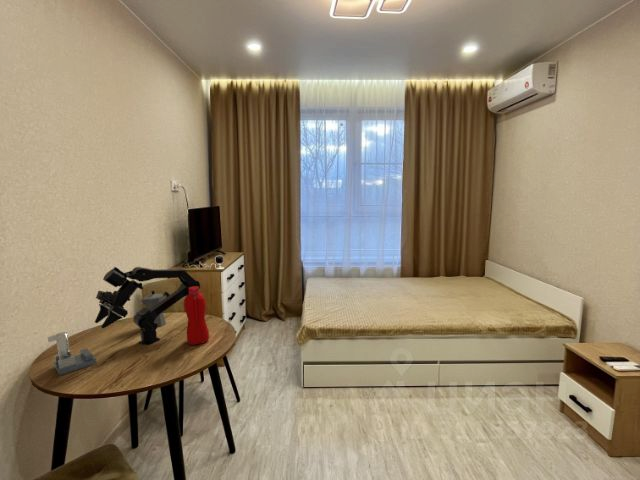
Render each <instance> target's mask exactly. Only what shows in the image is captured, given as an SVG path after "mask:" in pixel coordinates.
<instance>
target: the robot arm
mask: <svg viewBox="0 0 640 480" xmlns="http://www.w3.org/2000/svg"><path fill="white" fill-rule="evenodd" d="M102 279H103V281H104V282H106V283H108V284H109V285H110V286H113V287H114V288H117V287H119V288H118V289H117V290H113V292H112V291H107V290H106V291H103V290H98V291H97V294H96V295H95V296H96V297H95V299H97V300H99V301H98V303H99V304H98V306H99V312H98V313H97V316H96V317H95V320H94V323H96V324H98V323H100V322H101V321H103V320H104V322H103V323H102V324H101V329H105V328H107V327H109V326H111V325H112V324H114V323H116V322H118V321H119V320H121V319H123V318H126V317H127V316H128V314H129V313H128V310H127V309H126V308H125V307H124V306H125V305H126V303H127V302H130V301H131V299H130V298H131V297H132V296H133V295H134V293H135V292H136V291H137V289H138V290H139V289H140V290H141V291H142V290H144V287H143V283H142V282H147V281H151V280H153V279H178V280H179V281H180V282H181V284H180V285H179V287H178V289H177V290H175V291H174V292H172V293H171V294H170V295H169V296H168V297H166V296H165V298H163V300H162V301H161V302H159V303H158V304H156V305H155V306H153V307H152V308H149V309H147V308H146V306H145V307H143V308H141V310H139V311H136V313H135V315H134V316H133V319H132V320H133V321H132V322H133V323H134V324H135V326H137V327H139V328H140V340H139V341H138V343H139V344H141V345H147V346H148V345H151V344H153V343H156V342H158V341H159V340H161V338H160V337H158V336H157V329H158V327H157V326H158V324H156V323H155V322H154V321H155V320H156V318H157V316H158V315H159V314H161V313H162V312H163V313H164V312H165V311H167V310H168V309H169V308H171V307H173V306H174V305H175V304H176V303H178V302H179V301H180V300H182V299H183V298H184V297H186V296H187V295H189V288H190V287H196V286H197V287H199V290H200V288H201V283H200V281H198V280H195V278H193V277H192V276H191V275H190V274H189V273H188V272H187V271H186V270H184V269H182V268H177V269H171V268H170V269H152V268H148V267H147V268H146V267H140V266H136V267H134V268H132V270H130V271H126V272H123V271H122V270H120V269H119V268H118V267H116V266H114V267H113V268H112V269H110V270H109V271H107V272H106V273H105V274H104V277H103V278H102ZM135 280H136V281H135Z"/></svg>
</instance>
